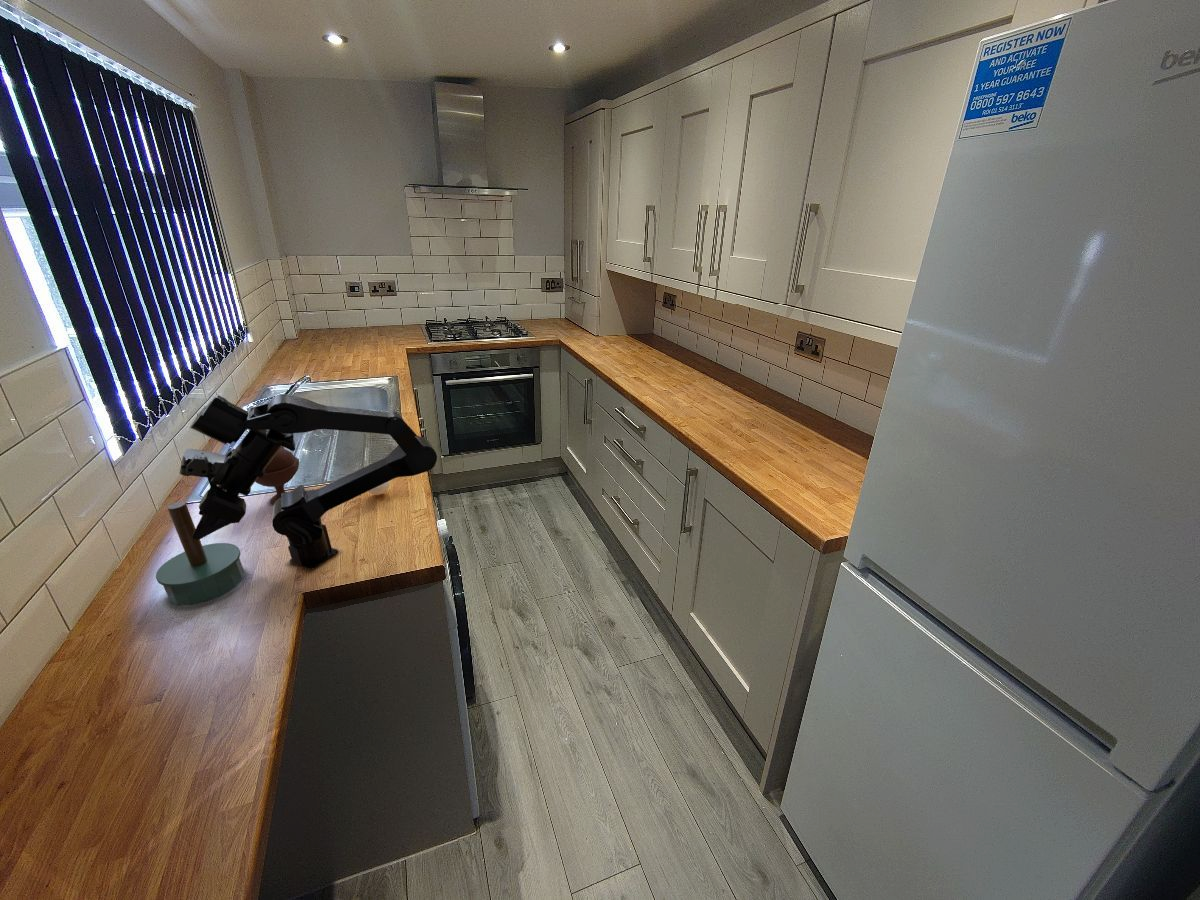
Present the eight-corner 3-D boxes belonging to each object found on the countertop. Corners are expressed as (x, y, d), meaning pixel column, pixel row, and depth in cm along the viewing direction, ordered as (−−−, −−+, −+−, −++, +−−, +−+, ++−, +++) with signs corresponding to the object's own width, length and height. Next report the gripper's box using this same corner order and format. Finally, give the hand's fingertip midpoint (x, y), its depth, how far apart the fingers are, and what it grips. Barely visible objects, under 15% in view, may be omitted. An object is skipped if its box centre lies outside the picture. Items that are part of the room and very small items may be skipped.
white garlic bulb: (362, 506, 124) (356, 480, 121) (364, 491, 131) (358, 466, 128) (395, 500, 126) (389, 475, 124) (395, 486, 133) (390, 462, 130)
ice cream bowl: (246, 506, 125) (227, 449, 119) (287, 486, 135) (271, 432, 129) (278, 514, 122) (260, 455, 116) (317, 492, 131) (303, 437, 125)
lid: (250, 543, 103) (229, 483, 98) (228, 581, 92) (204, 517, 87) (175, 554, 100) (150, 493, 95) (144, 596, 89) (113, 530, 84)
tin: (219, 562, 105) (211, 541, 103) (258, 575, 101) (251, 554, 99) (155, 598, 95) (145, 576, 93) (196, 614, 91) (187, 591, 89)
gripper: (209, 417, 97) (156, 485, 96) (196, 452, 82) (134, 533, 81) (270, 447, 103) (221, 510, 103) (268, 484, 88) (211, 559, 88)
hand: (198, 526), depth 94 cm, fingers open, 9 cm apart
